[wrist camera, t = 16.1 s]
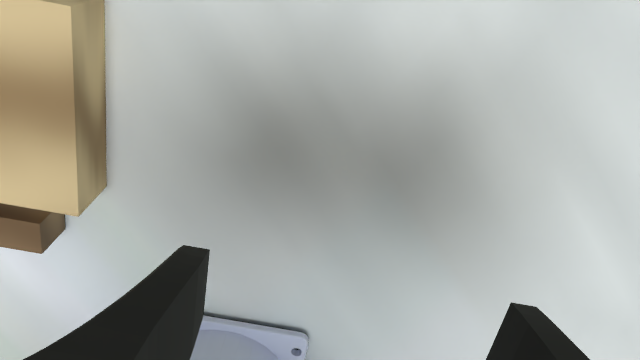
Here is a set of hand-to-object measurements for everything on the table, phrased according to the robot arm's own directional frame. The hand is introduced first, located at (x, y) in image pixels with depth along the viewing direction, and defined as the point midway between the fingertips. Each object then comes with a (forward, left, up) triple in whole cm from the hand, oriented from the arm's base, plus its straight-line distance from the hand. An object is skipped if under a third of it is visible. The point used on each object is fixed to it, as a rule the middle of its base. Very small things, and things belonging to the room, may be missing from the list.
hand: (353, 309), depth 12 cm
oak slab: (0, +14, -10) cm, 17 cm away
